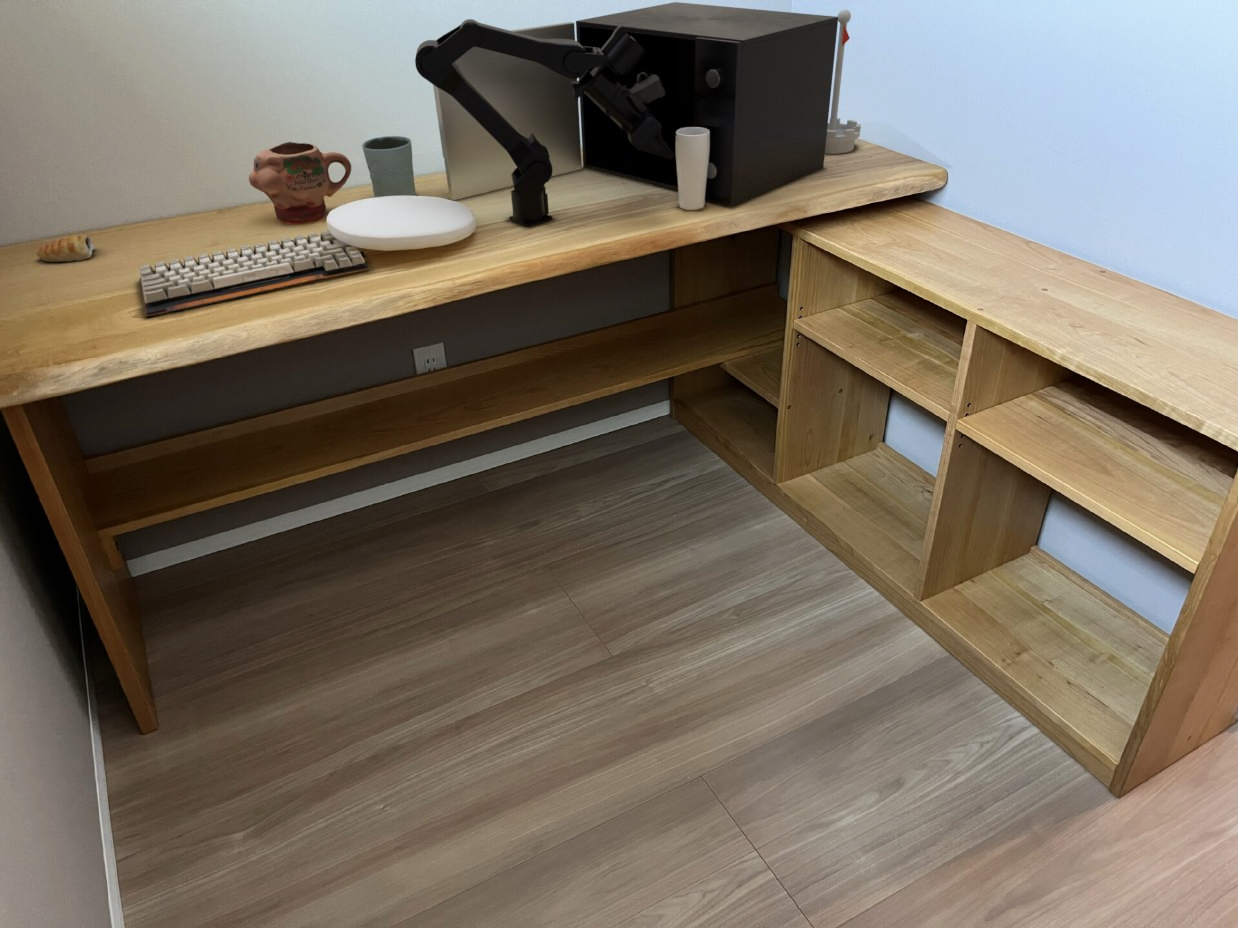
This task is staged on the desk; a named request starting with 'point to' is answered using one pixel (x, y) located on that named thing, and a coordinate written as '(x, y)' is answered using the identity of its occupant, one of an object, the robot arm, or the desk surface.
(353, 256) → the mechanical keyboard
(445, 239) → the white round disc
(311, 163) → the sculpted ceramic mug
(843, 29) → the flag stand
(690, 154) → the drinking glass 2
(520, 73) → the microwave door
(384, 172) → the green cup
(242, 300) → the desk surface
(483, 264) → the desk surface
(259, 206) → the desk surface
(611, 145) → the microwave
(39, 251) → the pastry
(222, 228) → the desk surface
